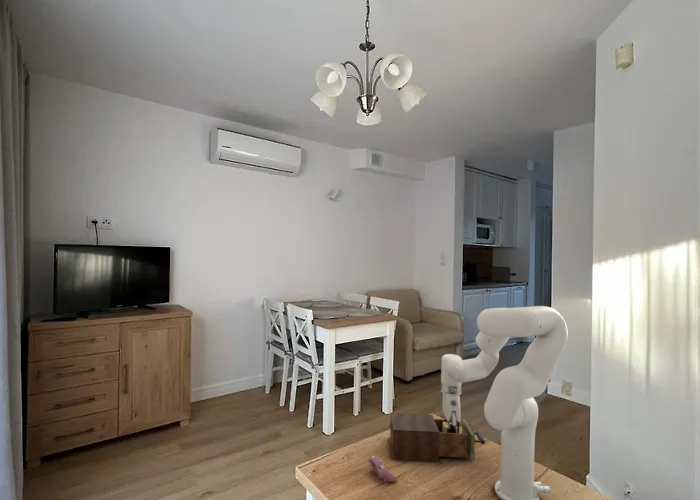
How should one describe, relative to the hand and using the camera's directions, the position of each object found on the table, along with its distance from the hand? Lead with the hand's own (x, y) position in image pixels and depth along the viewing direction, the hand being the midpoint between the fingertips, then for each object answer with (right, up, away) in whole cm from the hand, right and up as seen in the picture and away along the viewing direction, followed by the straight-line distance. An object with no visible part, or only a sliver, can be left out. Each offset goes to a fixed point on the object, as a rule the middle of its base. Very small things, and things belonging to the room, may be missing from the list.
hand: (449, 435), depth 139 cm
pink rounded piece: (-28, -5, -17) cm, 33 cm away
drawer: (+2, -5, 0) cm, 5 cm away
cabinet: (-14, -6, 0) cm, 15 cm away
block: (0, 0, 0) cm, 0 cm away
